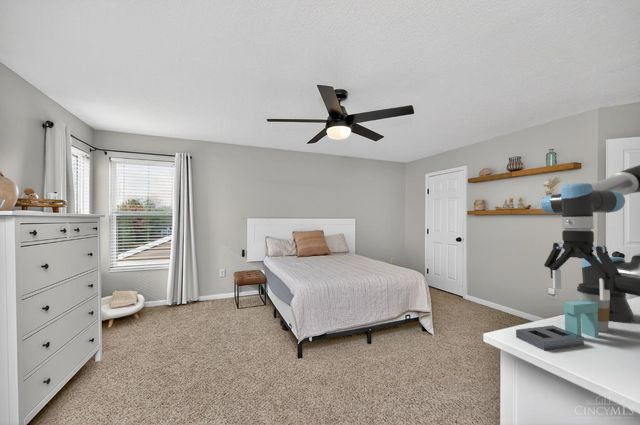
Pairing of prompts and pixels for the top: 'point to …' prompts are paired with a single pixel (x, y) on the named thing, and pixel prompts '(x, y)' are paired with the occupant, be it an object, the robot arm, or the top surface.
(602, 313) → the coffee cup
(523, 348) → the top surface
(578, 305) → the teal u-shaped block
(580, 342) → the grey slotted slab
